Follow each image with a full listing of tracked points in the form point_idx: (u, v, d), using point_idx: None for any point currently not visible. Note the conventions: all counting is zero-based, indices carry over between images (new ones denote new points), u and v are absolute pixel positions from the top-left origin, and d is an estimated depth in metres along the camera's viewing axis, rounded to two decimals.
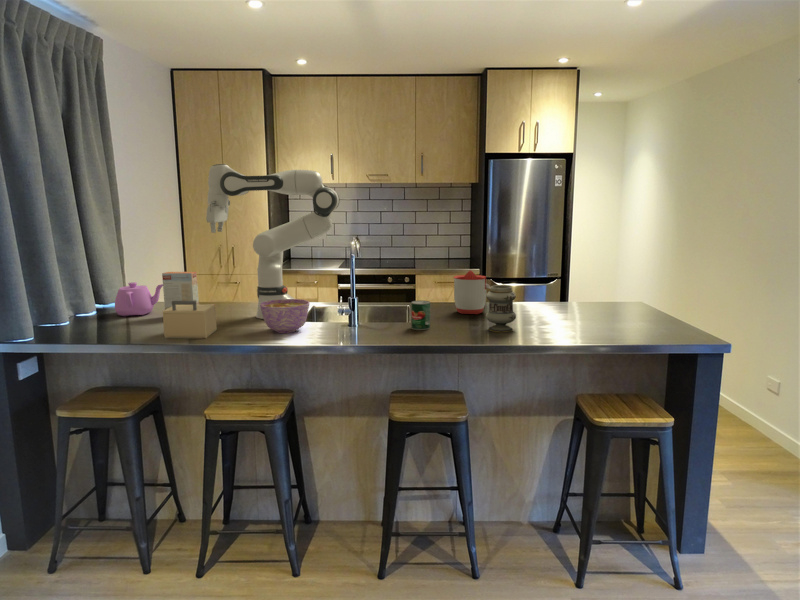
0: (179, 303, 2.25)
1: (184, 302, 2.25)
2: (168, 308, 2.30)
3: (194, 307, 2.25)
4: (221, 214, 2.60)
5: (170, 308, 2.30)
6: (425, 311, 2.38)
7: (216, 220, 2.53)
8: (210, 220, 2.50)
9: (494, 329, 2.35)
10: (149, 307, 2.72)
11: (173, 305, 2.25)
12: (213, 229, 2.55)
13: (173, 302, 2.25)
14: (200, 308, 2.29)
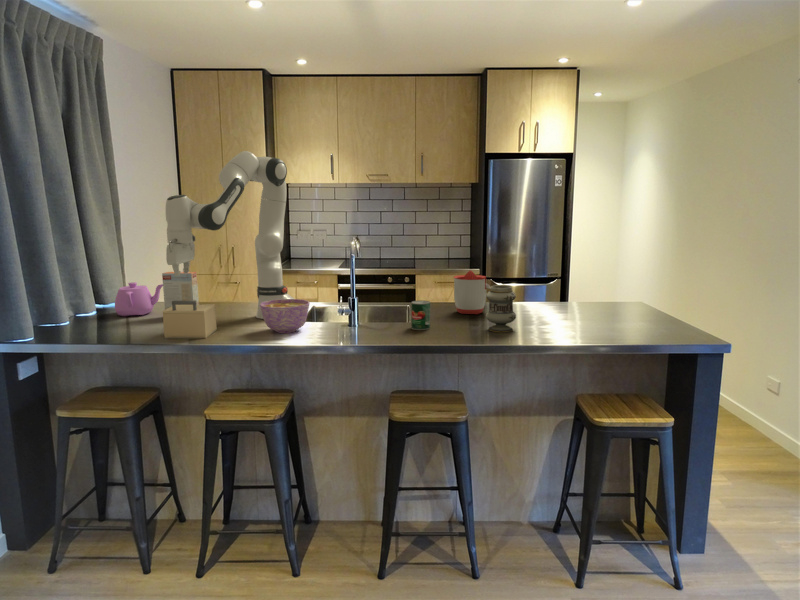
0: (179, 303, 2.25)
1: (184, 302, 2.25)
2: (168, 308, 2.30)
3: (194, 307, 2.25)
4: (185, 253, 2.22)
5: (170, 308, 2.30)
6: (425, 311, 2.38)
7: (179, 261, 2.16)
8: (171, 262, 2.13)
9: (494, 329, 2.35)
10: (149, 307, 2.72)
11: (173, 305, 2.25)
12: (177, 272, 2.18)
13: (173, 302, 2.25)
14: (200, 308, 2.29)
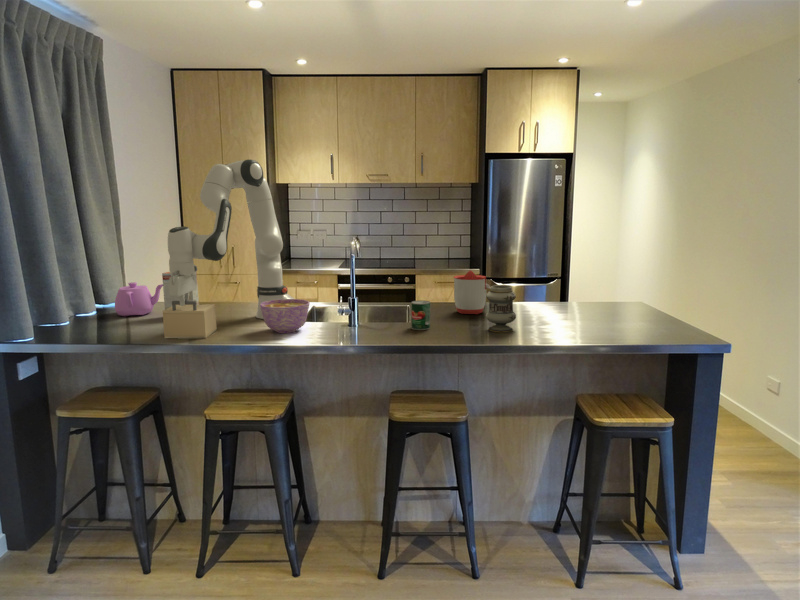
0: (179, 303, 2.25)
1: None
2: (168, 308, 2.30)
3: (194, 307, 2.25)
4: (187, 284, 2.24)
5: (170, 308, 2.30)
6: (425, 311, 2.38)
7: (181, 293, 2.18)
8: (174, 294, 2.15)
9: (494, 329, 2.35)
10: (149, 307, 2.72)
11: (173, 305, 2.25)
12: (182, 302, 2.23)
13: (173, 302, 2.25)
14: (200, 308, 2.29)
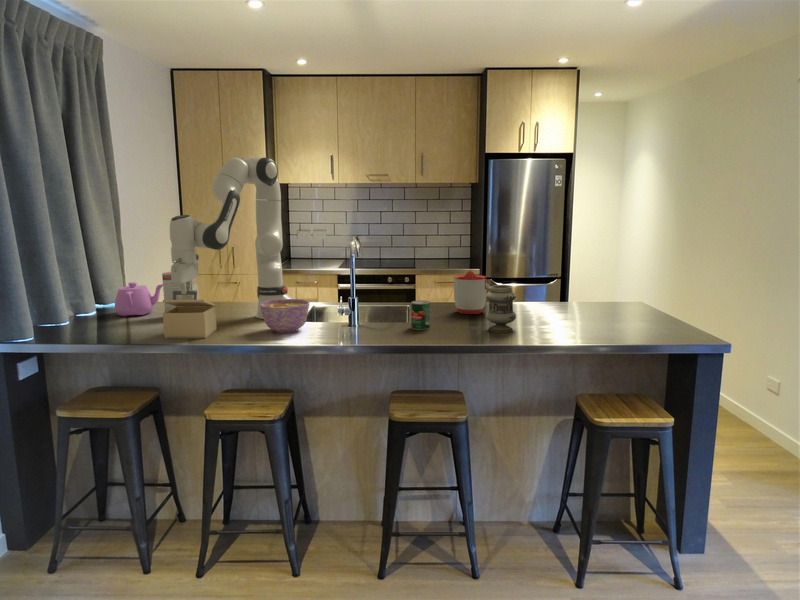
0: (180, 293, 2.26)
1: None
2: None
3: (194, 297, 2.26)
4: (189, 272, 2.26)
5: None
6: (425, 311, 2.38)
7: (183, 280, 2.19)
8: (176, 282, 2.16)
9: (494, 329, 2.35)
10: (149, 307, 2.72)
11: (174, 295, 2.26)
12: (183, 290, 2.24)
13: (174, 291, 2.26)
14: None
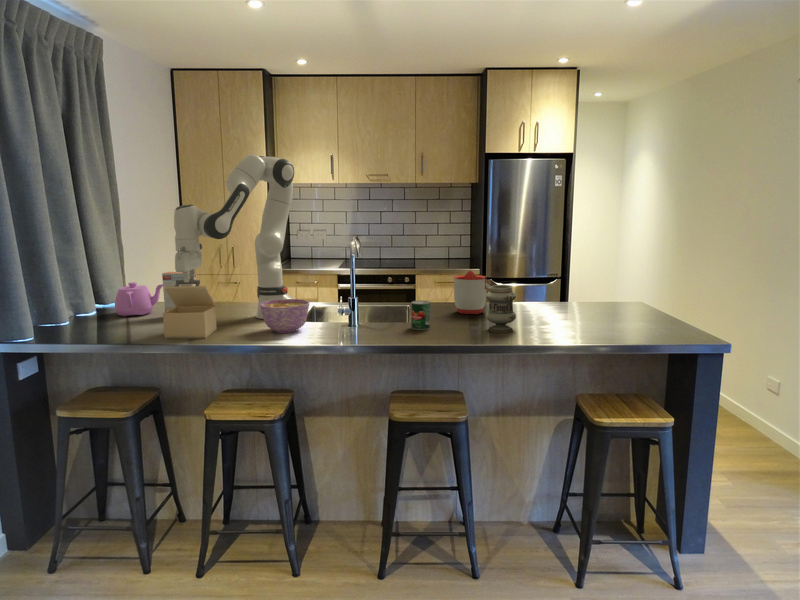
0: (183, 281, 2.29)
1: None
2: None
3: (197, 285, 2.28)
4: (193, 260, 2.30)
5: None
6: (425, 311, 2.38)
7: (187, 268, 2.23)
8: (180, 269, 2.20)
9: (494, 329, 2.35)
10: (149, 307, 2.72)
11: (176, 283, 2.29)
12: (186, 278, 2.27)
13: (177, 280, 2.29)
14: None
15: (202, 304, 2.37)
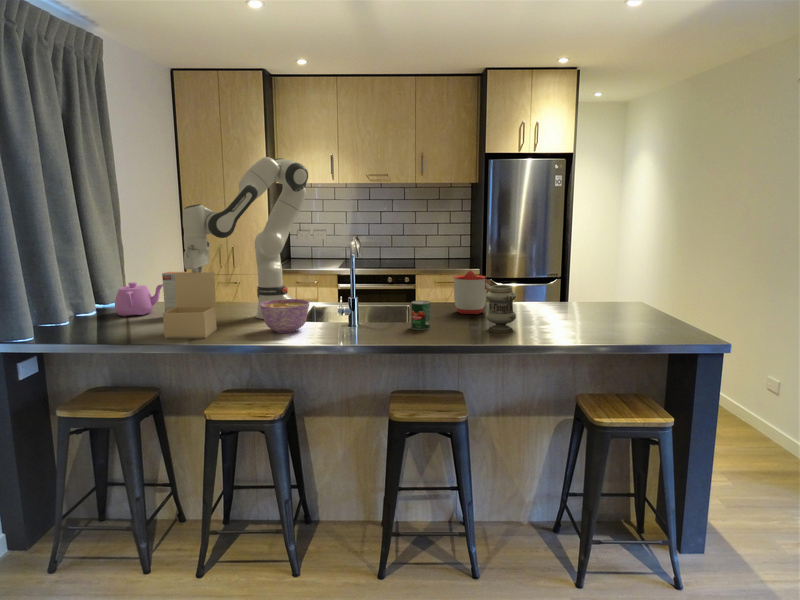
0: None
1: None
2: None
3: None
4: (201, 258, 2.40)
5: None
6: (425, 311, 2.38)
7: (195, 266, 2.33)
8: (188, 267, 2.30)
9: (494, 329, 2.35)
10: (149, 307, 2.72)
11: None
12: None
13: None
14: None
15: (203, 302, 2.38)
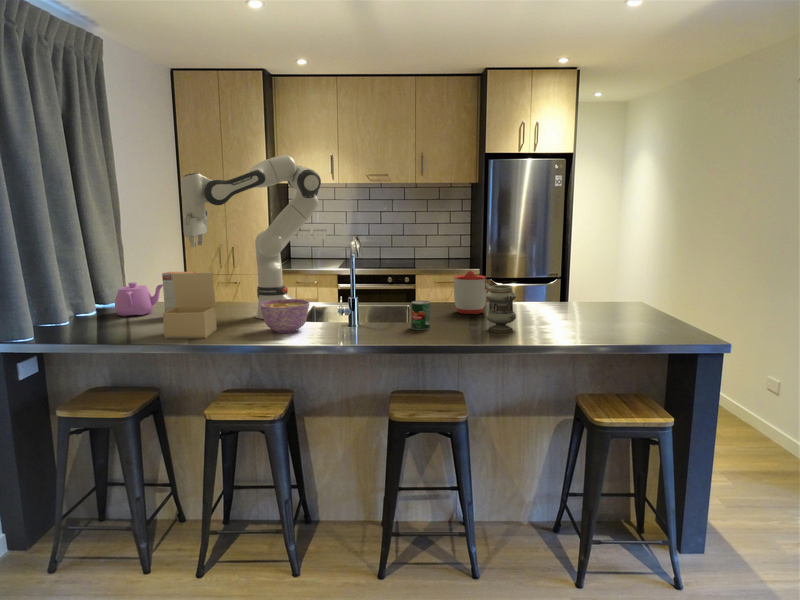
0: None
1: None
2: None
3: None
4: (199, 226, 2.44)
5: None
6: (425, 311, 2.38)
7: (194, 233, 2.37)
8: (188, 234, 2.34)
9: (494, 329, 2.35)
10: (149, 307, 2.72)
11: None
12: (193, 243, 2.39)
13: None
14: None
15: (203, 303, 2.38)
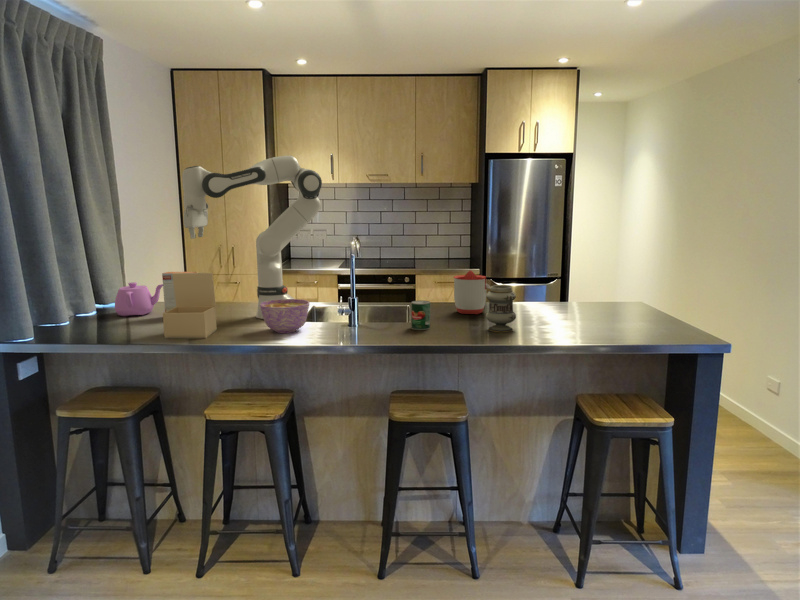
0: None
1: None
2: None
3: None
4: (200, 218, 2.48)
5: None
6: (425, 311, 2.38)
7: (194, 225, 2.42)
8: (188, 225, 2.39)
9: (494, 329, 2.35)
10: (149, 307, 2.72)
11: None
12: (192, 235, 2.44)
13: None
14: None
15: (203, 303, 2.38)
